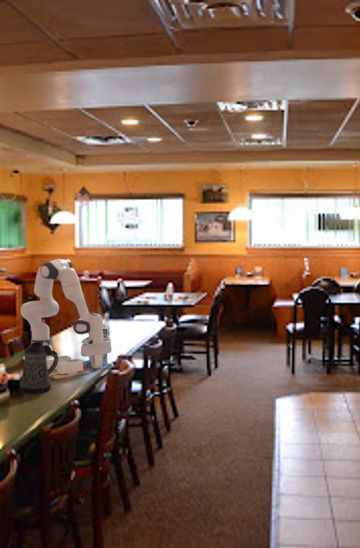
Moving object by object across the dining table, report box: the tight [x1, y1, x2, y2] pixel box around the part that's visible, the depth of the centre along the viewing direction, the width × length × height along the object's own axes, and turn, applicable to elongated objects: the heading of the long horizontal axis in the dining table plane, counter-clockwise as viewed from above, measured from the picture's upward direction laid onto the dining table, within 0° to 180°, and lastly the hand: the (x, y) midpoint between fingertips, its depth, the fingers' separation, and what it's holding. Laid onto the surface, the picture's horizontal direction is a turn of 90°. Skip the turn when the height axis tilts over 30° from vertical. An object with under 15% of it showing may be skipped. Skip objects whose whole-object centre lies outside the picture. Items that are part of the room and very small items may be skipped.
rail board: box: [46, 355, 90, 380], centre depth 372 cm, size 20×22×8 cm
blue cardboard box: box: [88, 326, 108, 366], centre depth 401 cm, size 20×5×23 cm, turn 29°
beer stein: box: [19, 343, 59, 395], centre depth 335 cm, size 16×19×25 cm
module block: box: [90, 354, 103, 369], centre depth 388 cm, size 5×5×8 cm
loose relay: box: [83, 360, 88, 368], centre depth 389 cm, size 4×6×3 cm, turn 141°
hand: (96, 361), depth 388 cm, fingers closed on module block, 5 cm apart
